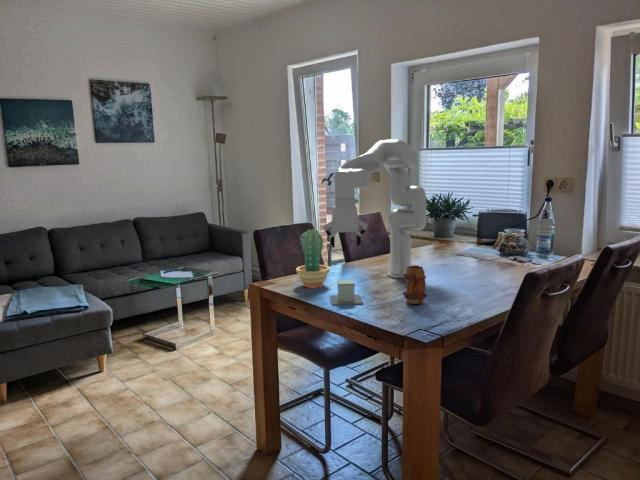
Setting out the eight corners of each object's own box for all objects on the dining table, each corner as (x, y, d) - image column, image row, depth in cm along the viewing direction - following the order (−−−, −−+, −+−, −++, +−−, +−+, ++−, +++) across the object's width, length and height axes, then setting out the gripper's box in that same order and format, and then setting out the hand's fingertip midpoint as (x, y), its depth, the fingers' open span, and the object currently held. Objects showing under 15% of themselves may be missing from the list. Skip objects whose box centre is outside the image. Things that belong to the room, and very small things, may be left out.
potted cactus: (327, 280, 231) (326, 226, 227) (333, 288, 216) (332, 231, 212) (294, 282, 229) (292, 228, 225) (298, 291, 214) (296, 233, 210)
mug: (401, 300, 198) (401, 262, 195) (421, 299, 198) (421, 261, 196) (411, 311, 183) (411, 271, 181) (432, 310, 184) (433, 270, 181)
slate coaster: (359, 295, 205) (359, 294, 204) (363, 304, 193) (363, 303, 193) (330, 297, 204) (329, 295, 204) (332, 305, 192) (332, 304, 192)
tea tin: (353, 296, 202) (352, 279, 200) (354, 301, 195) (354, 283, 194) (337, 297, 201) (337, 280, 200) (339, 301, 195) (338, 283, 194)
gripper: (365, 201, 196) (366, 244, 199) (321, 202, 195) (322, 245, 198) (368, 203, 189) (369, 247, 192) (322, 204, 188) (324, 249, 191)
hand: (345, 246), depth 195 cm, fingers open, 9 cm apart
